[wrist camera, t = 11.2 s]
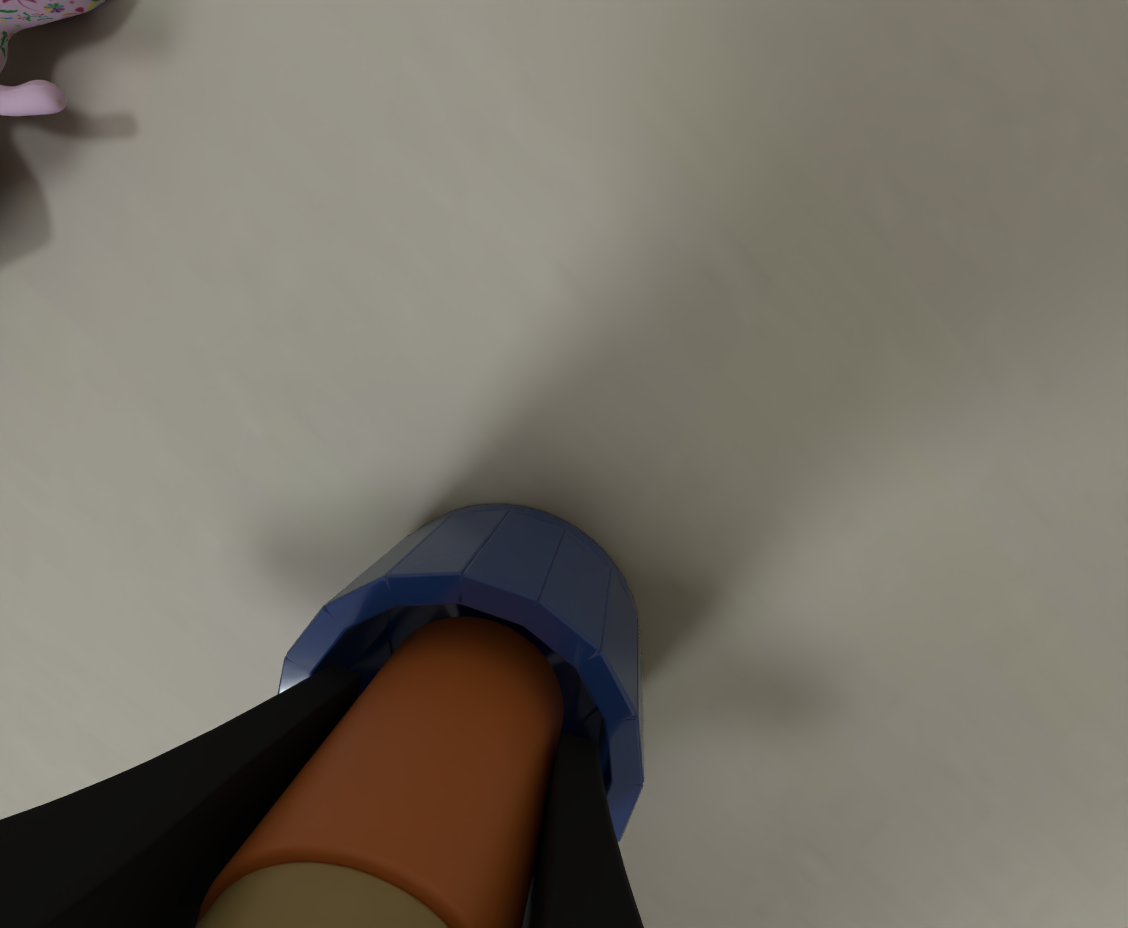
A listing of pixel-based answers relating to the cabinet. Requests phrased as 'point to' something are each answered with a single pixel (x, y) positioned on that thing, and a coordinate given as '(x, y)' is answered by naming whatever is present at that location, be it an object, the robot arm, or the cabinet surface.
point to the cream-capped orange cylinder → (412, 797)
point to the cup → (504, 621)
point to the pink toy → (16, 3)
